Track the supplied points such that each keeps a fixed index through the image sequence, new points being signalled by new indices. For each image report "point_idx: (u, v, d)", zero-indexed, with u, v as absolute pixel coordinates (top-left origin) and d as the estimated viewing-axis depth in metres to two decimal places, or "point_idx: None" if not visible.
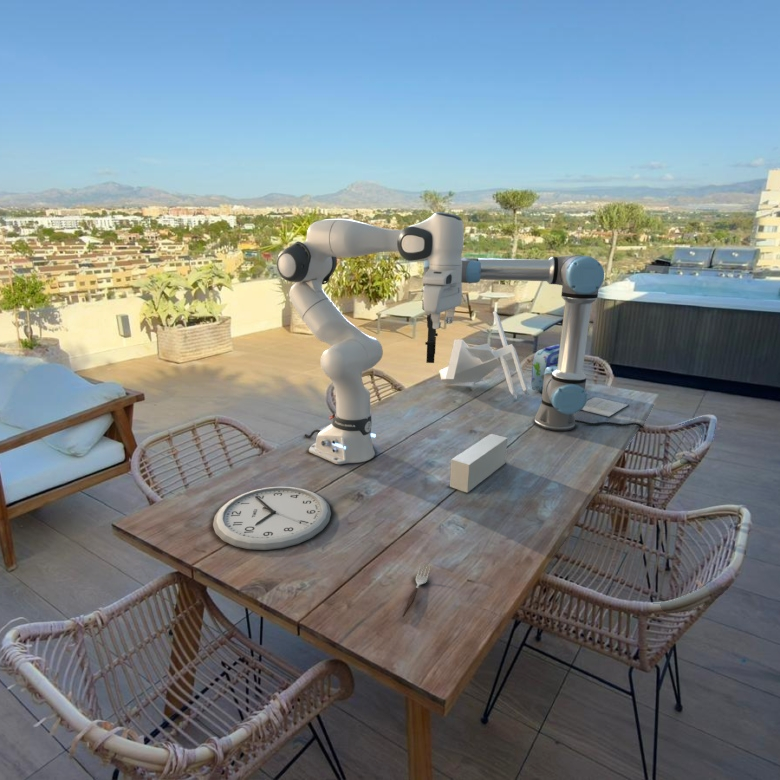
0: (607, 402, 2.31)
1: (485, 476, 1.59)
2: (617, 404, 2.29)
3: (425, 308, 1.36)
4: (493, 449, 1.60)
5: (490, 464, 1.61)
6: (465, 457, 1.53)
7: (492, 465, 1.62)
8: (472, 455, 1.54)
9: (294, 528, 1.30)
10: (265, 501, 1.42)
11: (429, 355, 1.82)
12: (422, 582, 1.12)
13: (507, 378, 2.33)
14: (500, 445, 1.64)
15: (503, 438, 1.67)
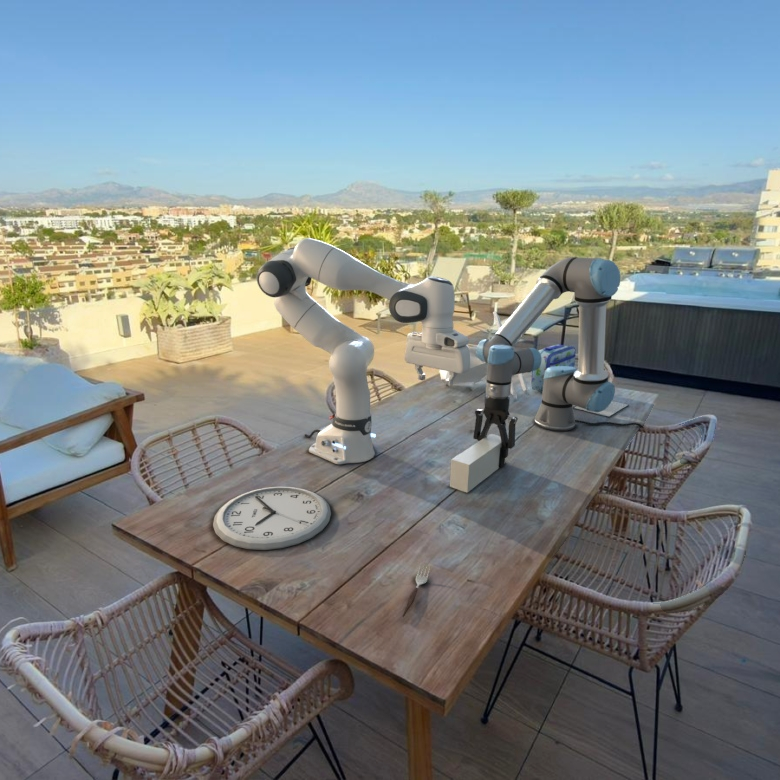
0: None
1: (485, 476, 1.59)
2: (617, 404, 2.29)
3: (464, 369, 1.44)
4: (493, 449, 1.60)
5: (490, 464, 1.61)
6: (465, 457, 1.53)
7: (492, 465, 1.62)
8: (472, 455, 1.54)
9: (294, 528, 1.30)
10: (265, 501, 1.42)
11: (502, 459, 1.66)
12: (422, 582, 1.12)
13: None
14: (500, 445, 1.64)
15: None
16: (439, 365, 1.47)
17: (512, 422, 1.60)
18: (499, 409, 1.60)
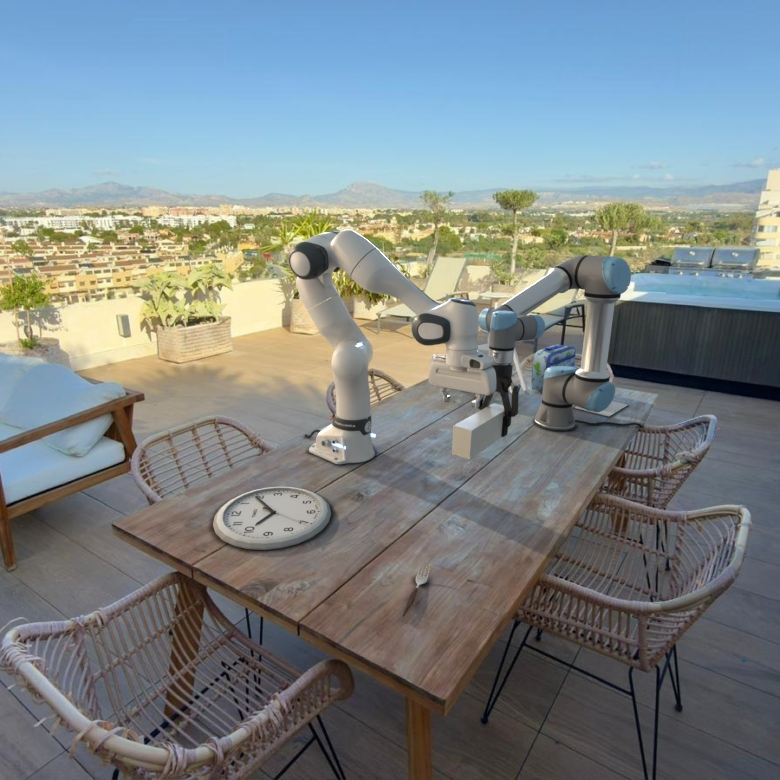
0: None
1: (488, 444, 1.56)
2: (617, 404, 2.29)
3: (491, 391, 1.41)
4: (496, 416, 1.57)
5: (493, 432, 1.58)
6: (467, 424, 1.50)
7: (494, 434, 1.59)
8: (474, 422, 1.51)
9: (294, 528, 1.30)
10: (265, 501, 1.42)
11: (505, 428, 1.63)
12: (422, 582, 1.12)
13: None
14: (503, 413, 1.61)
15: None
16: (465, 387, 1.45)
17: (515, 389, 1.57)
18: (502, 376, 1.57)
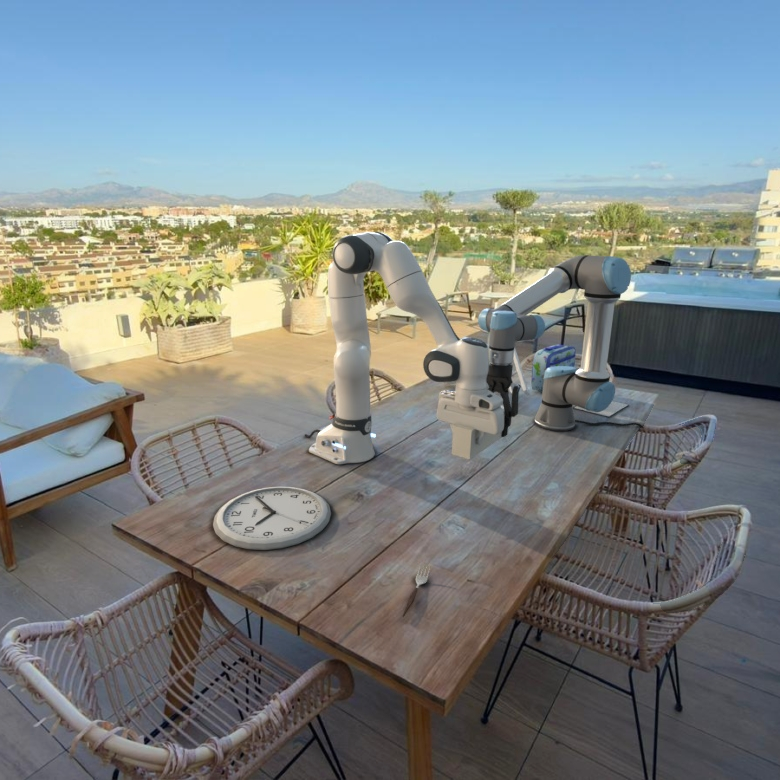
0: None
1: (488, 444, 1.56)
2: (617, 404, 2.29)
3: (499, 431, 1.43)
4: None
5: None
6: None
7: None
8: None
9: (294, 528, 1.30)
10: (265, 501, 1.42)
11: (505, 428, 1.63)
12: (422, 582, 1.12)
13: None
14: None
15: None
16: (473, 425, 1.47)
17: (515, 389, 1.57)
18: (502, 376, 1.57)
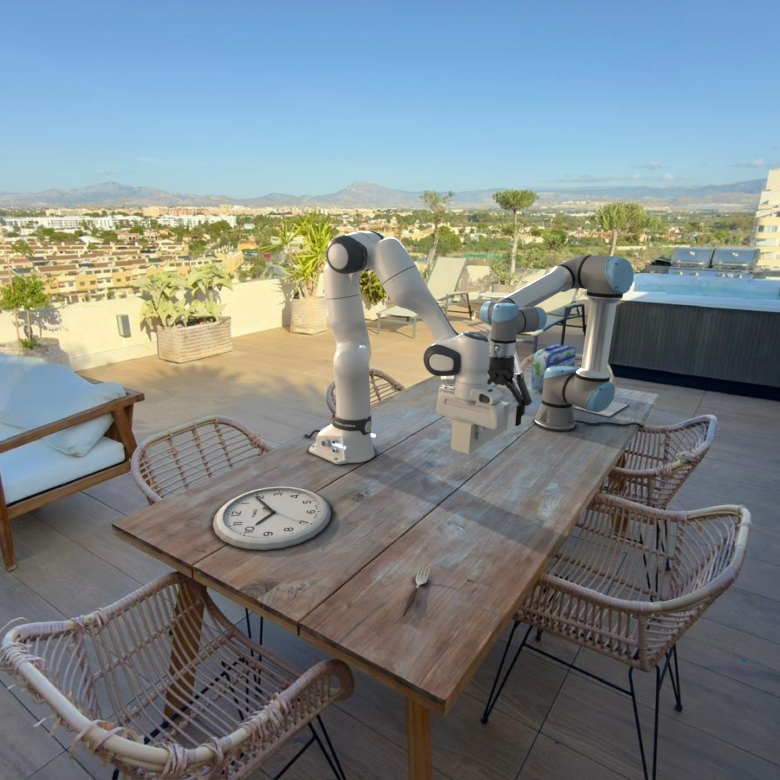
0: None
1: (487, 440, 1.56)
2: (617, 404, 2.29)
3: (499, 425, 1.42)
4: None
5: None
6: None
7: None
8: None
9: (294, 528, 1.30)
10: (265, 501, 1.42)
11: (519, 417, 1.60)
12: (422, 582, 1.12)
13: None
14: None
15: (505, 403, 1.64)
16: (472, 420, 1.46)
17: (519, 377, 1.56)
18: (504, 368, 1.57)
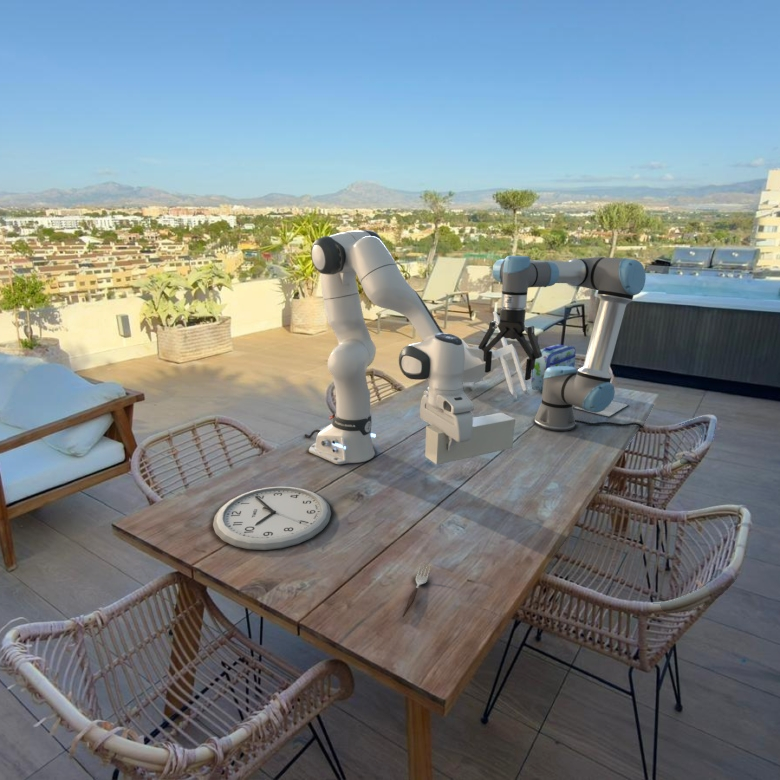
0: None
1: (471, 454, 1.42)
2: (617, 404, 2.29)
3: (461, 438, 1.29)
4: (486, 426, 1.42)
5: (481, 442, 1.43)
6: None
7: (484, 445, 1.43)
8: None
9: (294, 528, 1.30)
10: (265, 501, 1.42)
11: (529, 371, 1.60)
12: (422, 582, 1.12)
13: (507, 378, 2.33)
14: (500, 424, 1.44)
15: (509, 418, 1.46)
16: (442, 428, 1.36)
17: (529, 330, 1.56)
18: (515, 321, 1.56)
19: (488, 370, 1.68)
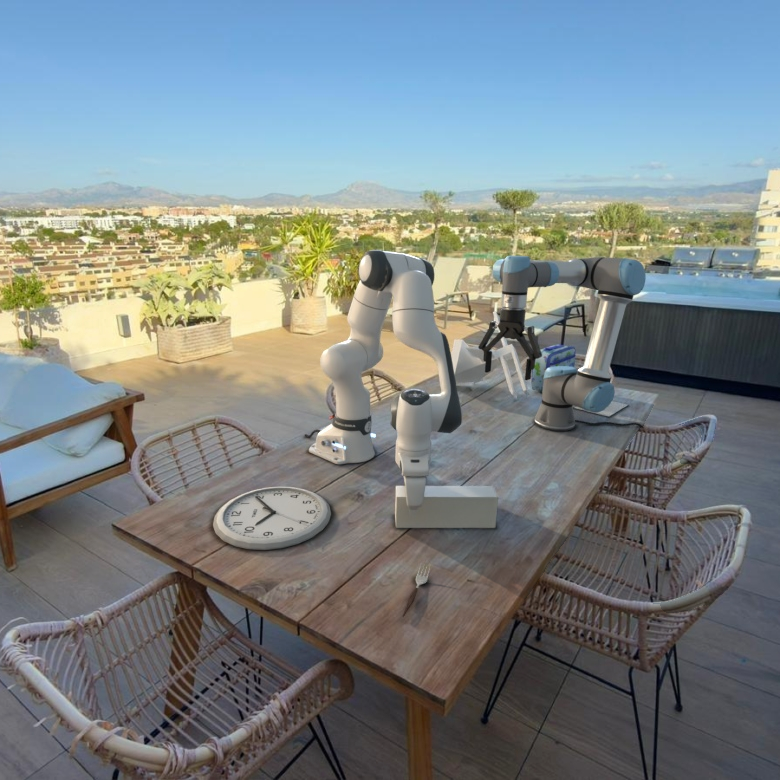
0: None
1: (440, 525, 1.33)
2: (617, 404, 2.29)
3: (409, 503, 1.23)
4: (458, 498, 1.31)
5: (453, 515, 1.32)
6: None
7: (457, 518, 1.32)
8: None
9: (294, 528, 1.30)
10: (265, 501, 1.42)
11: (529, 371, 1.60)
12: (422, 582, 1.12)
13: (507, 378, 2.33)
14: (478, 500, 1.31)
15: (492, 495, 1.31)
16: None
17: (529, 330, 1.56)
18: (515, 321, 1.56)
19: (488, 370, 1.68)
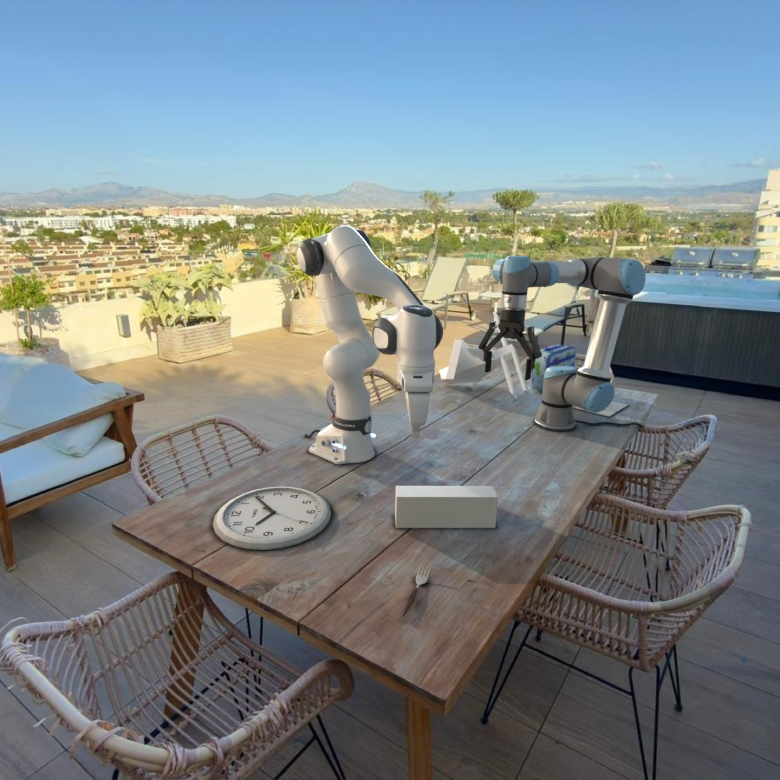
0: None
1: (440, 525, 1.33)
2: (617, 404, 2.29)
3: (412, 420, 1.16)
4: (458, 498, 1.31)
5: (453, 515, 1.32)
6: (410, 490, 1.33)
7: (457, 518, 1.32)
8: (421, 492, 1.32)
9: (294, 528, 1.30)
10: (265, 501, 1.42)
11: (529, 371, 1.60)
12: (422, 582, 1.12)
13: (507, 378, 2.33)
14: (478, 500, 1.31)
15: (492, 495, 1.31)
16: None
17: (529, 330, 1.56)
18: (515, 321, 1.56)
19: (488, 370, 1.68)
